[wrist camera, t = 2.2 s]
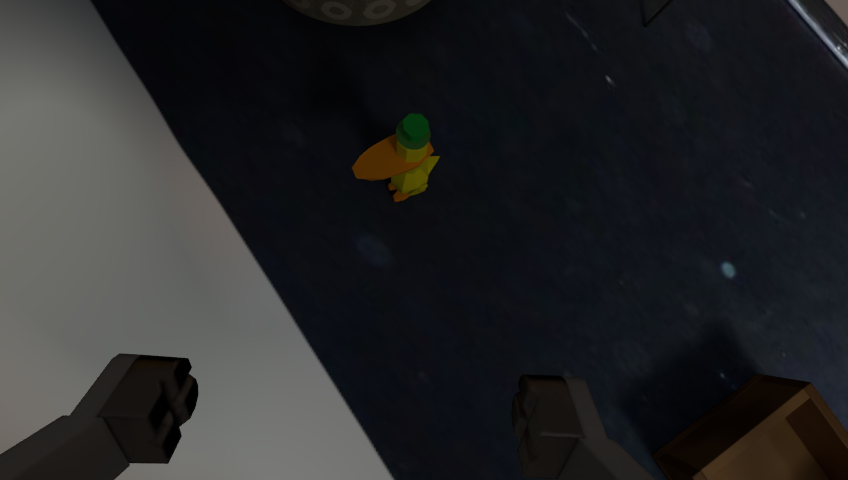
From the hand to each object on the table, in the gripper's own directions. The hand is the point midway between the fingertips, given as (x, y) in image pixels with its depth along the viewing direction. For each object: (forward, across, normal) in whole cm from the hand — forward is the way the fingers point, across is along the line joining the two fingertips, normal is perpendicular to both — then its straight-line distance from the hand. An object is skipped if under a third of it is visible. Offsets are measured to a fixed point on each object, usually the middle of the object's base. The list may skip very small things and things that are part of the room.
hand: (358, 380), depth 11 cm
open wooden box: (+10, -30, +24) cm, 40 cm away
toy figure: (+26, 0, +9) cm, 27 cm away
